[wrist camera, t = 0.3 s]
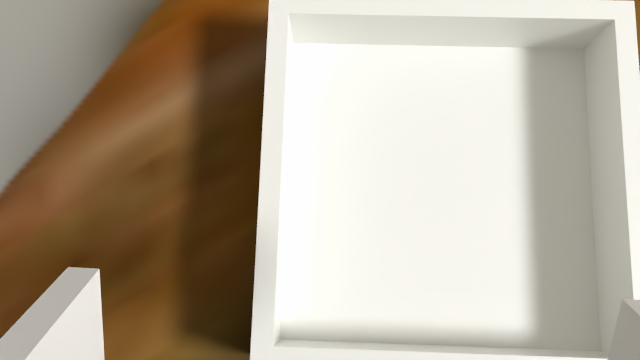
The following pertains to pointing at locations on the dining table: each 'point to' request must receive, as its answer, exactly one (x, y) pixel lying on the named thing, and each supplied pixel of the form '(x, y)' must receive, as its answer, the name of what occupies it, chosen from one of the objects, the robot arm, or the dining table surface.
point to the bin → (447, 180)
